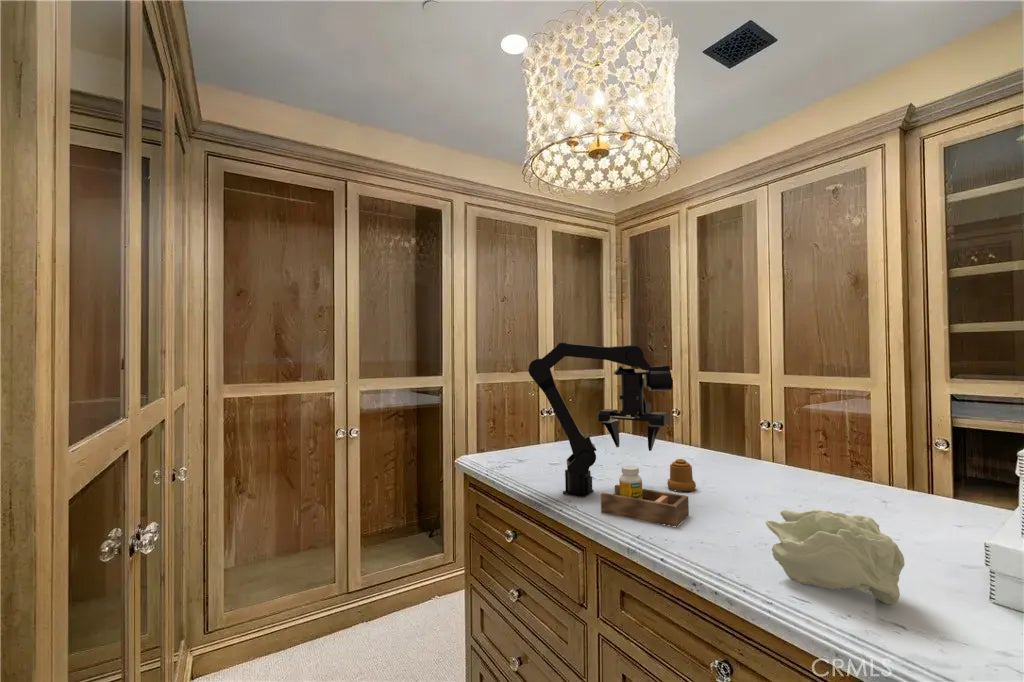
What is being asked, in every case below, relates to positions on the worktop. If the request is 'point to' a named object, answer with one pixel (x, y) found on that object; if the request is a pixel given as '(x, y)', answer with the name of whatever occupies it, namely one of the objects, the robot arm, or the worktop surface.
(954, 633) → the worktop surface
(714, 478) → the worktop surface
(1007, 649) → the worktop surface
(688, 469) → the ornamental finial
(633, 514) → the pusher lane
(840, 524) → the wavy plaster lump
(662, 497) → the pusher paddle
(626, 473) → the supplement bottle
